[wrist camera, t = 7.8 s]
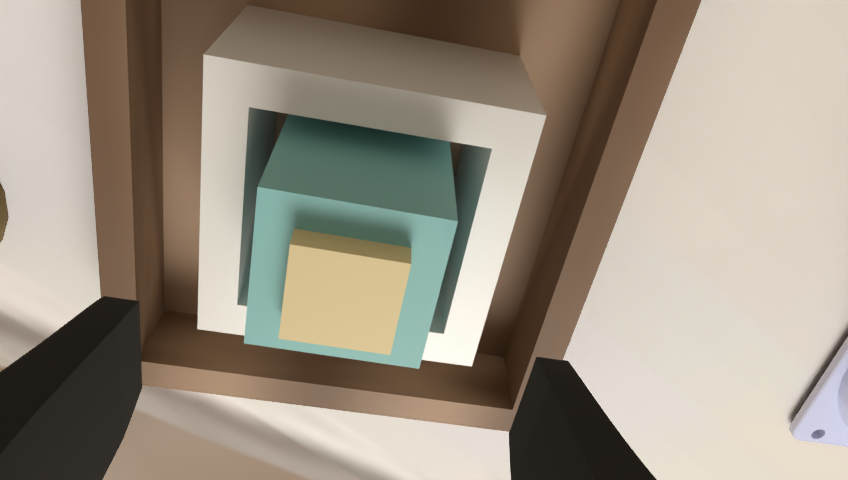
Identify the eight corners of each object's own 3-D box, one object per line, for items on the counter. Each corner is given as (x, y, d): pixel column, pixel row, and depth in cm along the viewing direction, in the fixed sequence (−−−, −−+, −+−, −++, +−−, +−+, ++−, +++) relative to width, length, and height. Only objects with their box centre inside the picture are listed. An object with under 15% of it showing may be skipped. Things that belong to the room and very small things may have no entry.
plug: (444, 99, 20) (460, 236, 13) (418, 217, 22) (419, 387, 15) (306, 72, 19) (250, 201, 13) (291, 196, 21) (238, 361, 15)
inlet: (520, 55, 19) (546, 115, 15) (462, 274, 23) (471, 366, 19) (247, 4, 18) (203, 54, 15) (235, 240, 22) (197, 328, 18)
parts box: (683, -88, 18) (729, -72, 15) (522, 373, 26) (533, 434, 23) (121, -209, 16) (65, -214, 14) (139, 321, 24) (106, 380, 22)
